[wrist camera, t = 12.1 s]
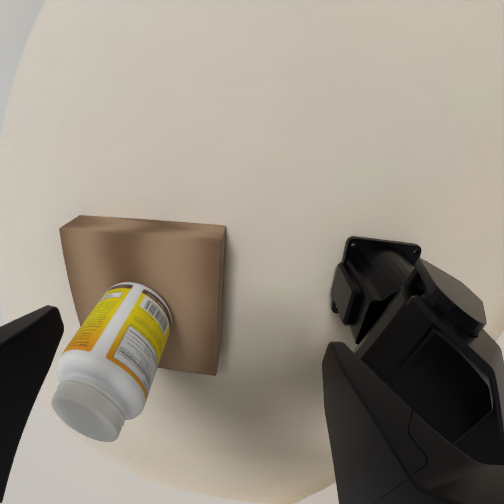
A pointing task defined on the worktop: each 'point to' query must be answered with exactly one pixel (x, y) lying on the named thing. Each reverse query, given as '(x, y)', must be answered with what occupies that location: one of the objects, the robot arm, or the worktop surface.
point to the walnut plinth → (154, 277)
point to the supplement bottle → (112, 361)
